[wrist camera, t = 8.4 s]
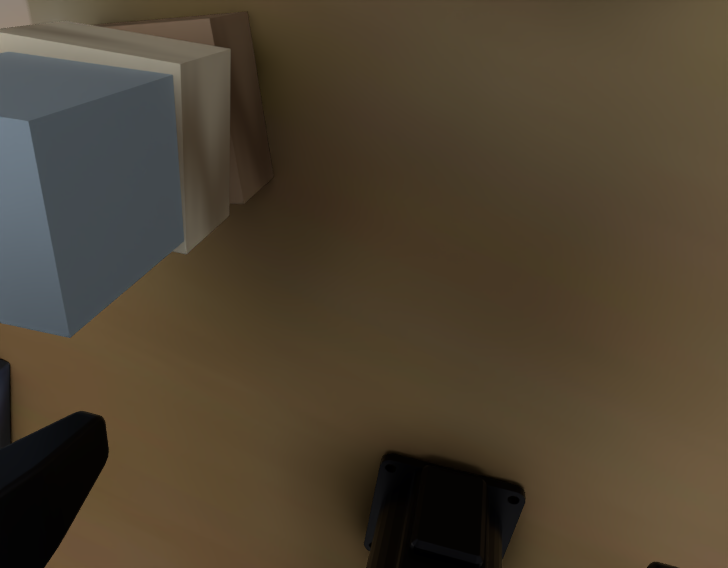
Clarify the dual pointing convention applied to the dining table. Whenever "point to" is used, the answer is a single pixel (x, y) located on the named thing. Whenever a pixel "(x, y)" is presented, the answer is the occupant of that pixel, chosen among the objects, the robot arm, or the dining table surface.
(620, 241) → the dining table surface
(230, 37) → the tower base
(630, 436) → the dining table surface
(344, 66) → the dining table surface
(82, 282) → the blue cube
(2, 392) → the small box
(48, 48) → the tower mid
